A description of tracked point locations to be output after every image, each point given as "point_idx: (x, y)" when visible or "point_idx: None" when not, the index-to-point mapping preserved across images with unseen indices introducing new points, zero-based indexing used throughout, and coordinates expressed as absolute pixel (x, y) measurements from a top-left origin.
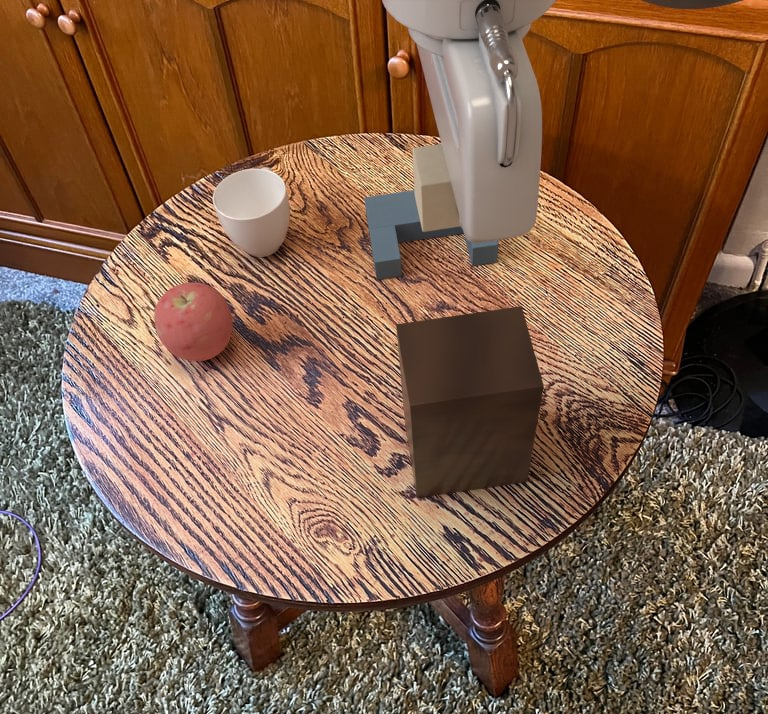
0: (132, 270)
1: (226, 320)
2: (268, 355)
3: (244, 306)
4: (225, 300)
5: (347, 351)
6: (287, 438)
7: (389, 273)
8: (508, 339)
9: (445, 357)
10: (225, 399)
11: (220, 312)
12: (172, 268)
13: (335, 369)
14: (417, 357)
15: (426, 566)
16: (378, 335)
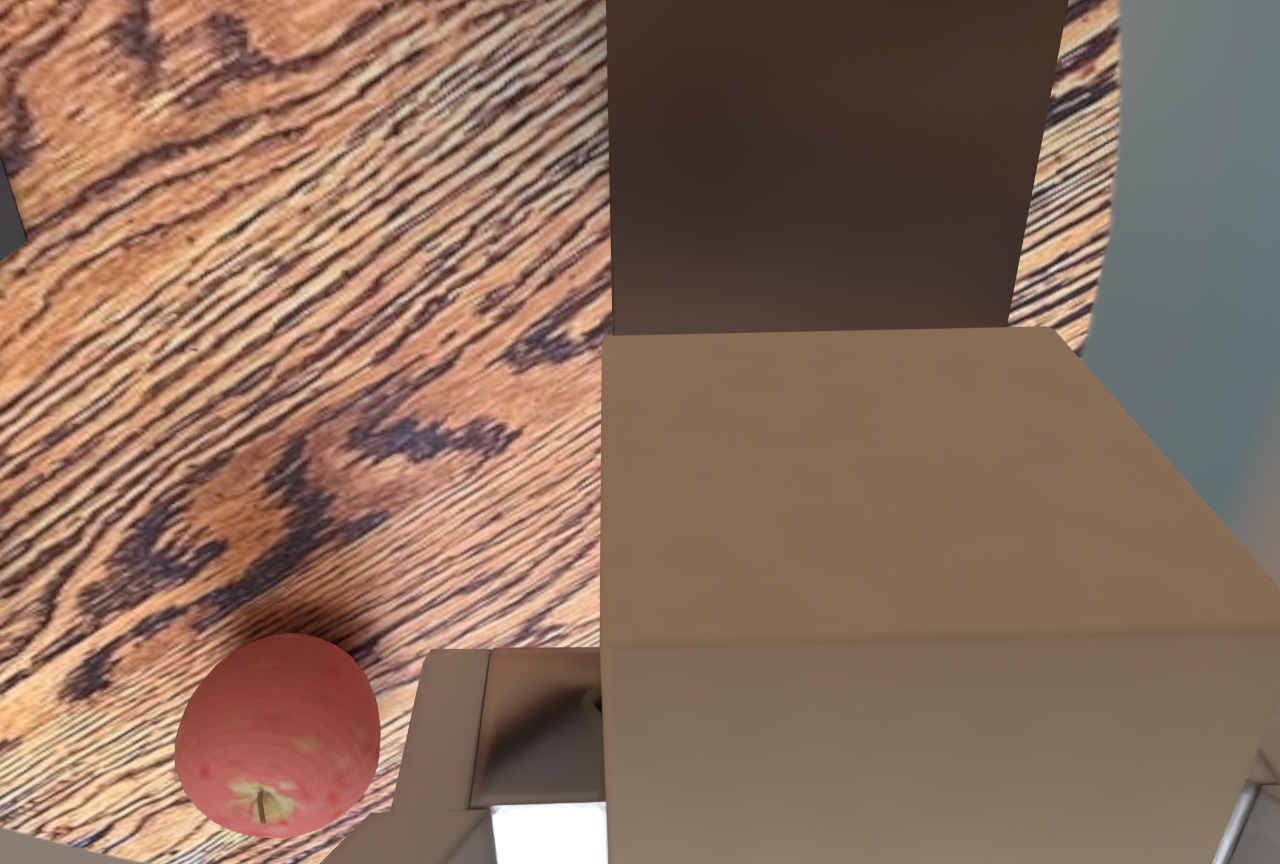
0: (53, 803)
1: (295, 686)
2: (334, 536)
3: (162, 585)
4: (220, 687)
5: (327, 348)
6: None
7: (4, 206)
8: (788, 20)
9: (816, 290)
10: (469, 623)
11: (283, 711)
12: (37, 732)
13: (392, 383)
14: None
15: (1055, 215)
16: (266, 258)
